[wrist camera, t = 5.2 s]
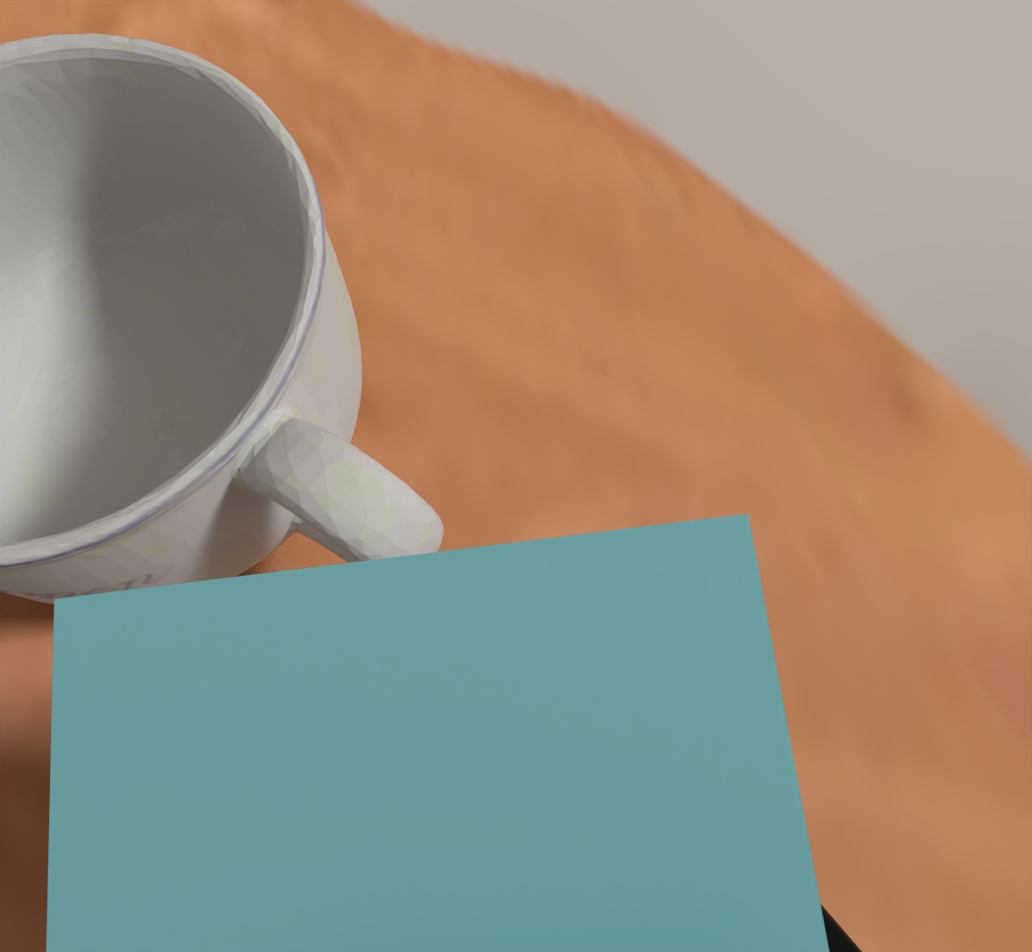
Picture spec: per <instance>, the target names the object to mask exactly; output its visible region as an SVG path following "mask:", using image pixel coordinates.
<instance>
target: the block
mask: <svg viewBox="0 0 1032 952" xmlns="http://www.w3.org/2000/svg"><path fill="white" fill-rule="evenodd" d="M46 952H829V947H828V942H827V936H826V931H825V926H824V920H823V915H822V909H821V904H820V899H819V893H818V888H817V882H816V877H815V872H814V866H813V861H812V856H811V850H810V845H809V839H808V834H807V829H806V823H805V818H804V812H803V807H802V802H801V796H800V791H799V785H798V780H797V775H796V769H795V764H794V759H793V753H792V748H791V742H790V737H789V732H788V726H787V721H786V715H785V710H784V705H783V699H782V694H781V688H780V683H779V678H778V672H777V667H776V661H775V656H774V651H773V645H772V640H771V635H770V629H769V624H768V618H767V613H766V608H765V602H764V597H763V591H762V586H761V581H760V575H759V570H758V564H757V559H756V554H755V548H754V543H753V538H752V532H751V527H750V521H749V516H748V514H742V515H734V516H725V517H717V518H709V519H701V520H693V521H685V522H677V523H669V524H660V525H652V526H644V527H636V528H628V529H620V530H612V531H603V532H595V533H587V534H579V535H571V536H563V537H555V538H547V539H538V540H530V541H522V542H514V543H506V544H498V545H490V546H481V547H473V548H465V549H457V550H449V551H441V552H433V553H425V554H416V555H408V556H400V557H392V558H384V559H376V560H368V561H360V562H351V563H343V564H335V565H327V566H319V567H311V568H303V569H294V570H286V571H278V572H270V573H262V574H254V575H246V576H238V577H229V578H221V579H213V580H205V581H197V582H189V583H181V584H172V585H164V586H156V587H148V588H140V589H132V590H124V591H116V592H107V593H99V594H91V595H83V596H75V597H67V598H59V599H54V634H53V678H52V722H51V765H50V809H49V852H48V896H47V940H46Z"/></svg>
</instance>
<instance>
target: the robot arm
mask: <svg viewBox="0 0 1032 952" xmlns="http://www.w3.org/2000/svg"><path fill="white" fill-rule="evenodd" d="M821 909H822V915H823V920H824V926H825V931H826V936H827V942H828V947H829V952H862V951H861V950H860V949H859V948H858V947H857V945H856V944H855V943H854V942H853V941H852V940H851V938H850V937H849V936H848V935H847V934H846V933H845V931H844V930H843V929H842V928H841V927H840V926H839V924H838V923H837V922H836V921H835V920H834V919H833V918H832V916H831V915H830V914H829V913H828V912H827V911H826V909H825V908H824V907H823V906H822V905H821Z"/></svg>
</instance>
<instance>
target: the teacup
mask: <svg viewBox="0 0 1032 952" xmlns="http://www.w3.org/2000/svg"><path fill="white" fill-rule="evenodd" d="M361 388H362V362H361V347H360V341H359V335H358V328H357V323H356V319H355V315H354V311H353V307H352V303H351V299H350V296H349V293H348V290H347V287H346V284H345V281H344V278H343V275H342V272H341V269H340V266H339V263H338V260H337V257H336V254H335V252H334V249H333V247H332V244H331V241H330V239H329V236H328V234H327V231H326V228H325V223H324V213H323V210H322V206H321V202H320V198H319V194H318V191H317V188H316V185H315V183H314V180H313V178H312V175H311V173H310V171H309V168H308V166H307V164H306V161H305V159H304V157H303V155H302V153H301V151H300V149H299V147H298V145H297V144H296V142H295V140H294V139H293V137H292V136H291V134H290V133H289V132H288V131H287V129H286V128H285V127H284V126H283V124H282V123H281V122H280V121H279V119H278V118H277V117H276V116H275V115H274V113H273V112H272V111H271V110H270V109H269V108H268V106H267V105H266V104H265V103H264V102H263V101H262V99H261V98H260V97H259V96H257V95H256V94H255V93H254V92H253V91H251V90H250V89H249V88H248V87H246V86H245V85H244V84H243V83H241V82H240V81H239V80H238V79H236V78H235V77H233V76H232V75H230V74H229V73H227V72H226V71H224V70H222V69H221V68H219V67H217V66H215V65H213V64H211V63H209V62H208V61H206V60H204V59H202V58H200V57H198V56H196V55H194V54H191V53H188V52H185V51H182V50H179V49H176V48H173V47H170V46H166V45H162V44H159V43H155V42H152V41H147V40H142V39H136V38H131V37H123V36H114V35H103V34H93V33H90V34H56V35H48V36H40V37H32V38H27V39H22V40H17V41H12V42H7V43H2V44H0V591H1V592H4V593H8V594H11V595H15V596H19V597H23V598H27V599H31V600H35V601H39V602H43V603H49V604H54V599H59V598H67V597H75V596H83V595H91V594H99V593H107V592H116V591H124V590H132V589H140V588H148V587H156V586H164V585H172V584H181V583H189V582H197V581H205V580H213V579H221V578H229V577H236V576H238V575H239V574H241V573H243V572H244V571H246V570H248V569H249V568H251V567H252V566H254V565H256V564H257V563H259V562H260V561H261V560H262V559H264V558H265V557H266V556H268V555H269V554H270V553H271V552H273V551H274V550H275V549H277V548H278V547H279V546H280V545H282V544H283V543H284V542H285V541H286V540H287V539H288V538H289V537H290V536H291V535H292V534H293V533H294V532H299V533H301V534H303V535H305V536H306V537H308V538H310V539H312V540H314V541H316V542H317V543H319V544H321V545H322V546H324V547H325V548H327V549H328V550H330V551H331V552H333V553H335V554H336V555H338V556H339V557H341V558H342V559H344V560H345V561H347V562H349V563H351V562H360V561H368V560H376V559H384V558H392V557H400V556H408V555H416V554H425V553H433V552H437V551H438V550H439V547H440V544H441V541H442V538H443V525H442V522H441V520H440V518H439V516H438V515H437V514H436V512H435V511H434V510H433V508H432V507H431V506H430V505H429V504H428V503H427V502H425V501H424V500H423V499H422V498H421V497H420V496H419V495H418V494H417V493H416V492H414V491H413V490H412V489H411V488H410V487H409V486H408V485H407V484H406V483H404V482H403V481H402V480H401V479H399V478H398V477H397V476H395V475H394V474H393V473H391V472H390V471H389V470H387V469H386V468H385V467H383V466H382V465H380V464H379V463H378V462H376V461H375V460H374V459H372V458H371V457H369V456H368V455H366V454H365V453H363V452H362V451H360V450H359V449H358V448H356V447H355V446H353V445H352V444H350V442H351V439H352V437H353V433H354V429H355V425H356V421H357V416H358V411H359V406H360V399H361Z"/></svg>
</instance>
